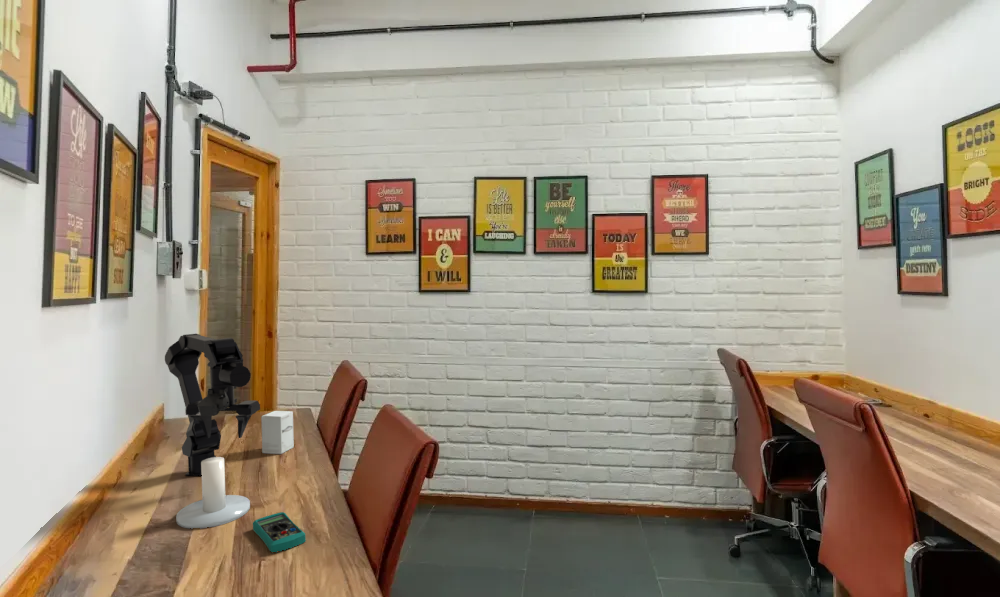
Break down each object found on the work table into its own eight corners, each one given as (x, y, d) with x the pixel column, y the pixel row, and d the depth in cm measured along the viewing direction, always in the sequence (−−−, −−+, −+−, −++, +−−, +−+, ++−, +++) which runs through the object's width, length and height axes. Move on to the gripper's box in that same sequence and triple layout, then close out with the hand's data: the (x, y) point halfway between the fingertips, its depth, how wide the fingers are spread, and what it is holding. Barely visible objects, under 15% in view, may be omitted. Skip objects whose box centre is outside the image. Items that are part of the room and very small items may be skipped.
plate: (160, 528, 123) (160, 523, 123) (202, 499, 139) (202, 494, 139) (227, 528, 122) (227, 523, 122) (261, 499, 138) (261, 495, 138)
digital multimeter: (272, 557, 111) (272, 543, 110) (252, 531, 122) (251, 518, 122) (307, 545, 115) (307, 532, 115) (284, 521, 127) (284, 509, 127)
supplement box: (281, 454, 173) (280, 416, 173) (261, 453, 175) (260, 415, 174) (294, 447, 181) (293, 410, 180) (275, 446, 182) (274, 410, 182)
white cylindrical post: (198, 510, 130) (196, 462, 129) (217, 502, 134) (216, 455, 134) (210, 514, 127) (208, 465, 127) (230, 506, 132) (228, 458, 131)
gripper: (171, 389, 141) (173, 447, 142) (239, 389, 140) (241, 447, 141) (196, 381, 152) (198, 434, 153) (260, 380, 151) (261, 434, 152)
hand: (224, 437), depth 149 cm, fingers open, 9 cm apart
